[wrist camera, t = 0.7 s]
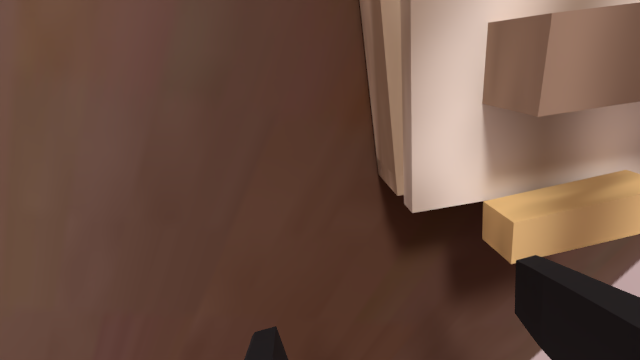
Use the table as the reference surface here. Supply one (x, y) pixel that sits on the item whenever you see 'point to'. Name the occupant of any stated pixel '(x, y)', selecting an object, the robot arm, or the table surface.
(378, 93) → the wooden tray
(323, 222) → the table surface
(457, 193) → the lid
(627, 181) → the light wooden bar
